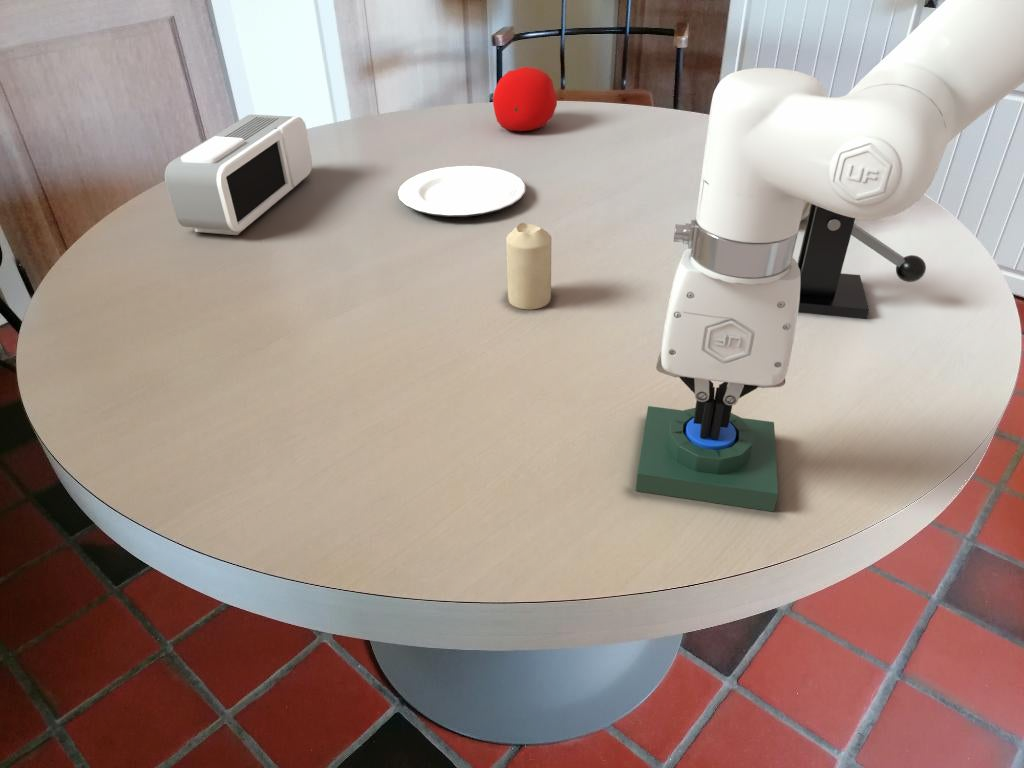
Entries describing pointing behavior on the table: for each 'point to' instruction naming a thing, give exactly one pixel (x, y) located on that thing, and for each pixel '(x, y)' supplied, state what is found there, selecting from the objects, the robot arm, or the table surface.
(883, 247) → the lever
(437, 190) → the plate
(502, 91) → the tomato
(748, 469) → the switch box
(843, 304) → the switch bracket
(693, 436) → the button
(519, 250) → the candle
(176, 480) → the table surface
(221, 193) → the alarm clock
